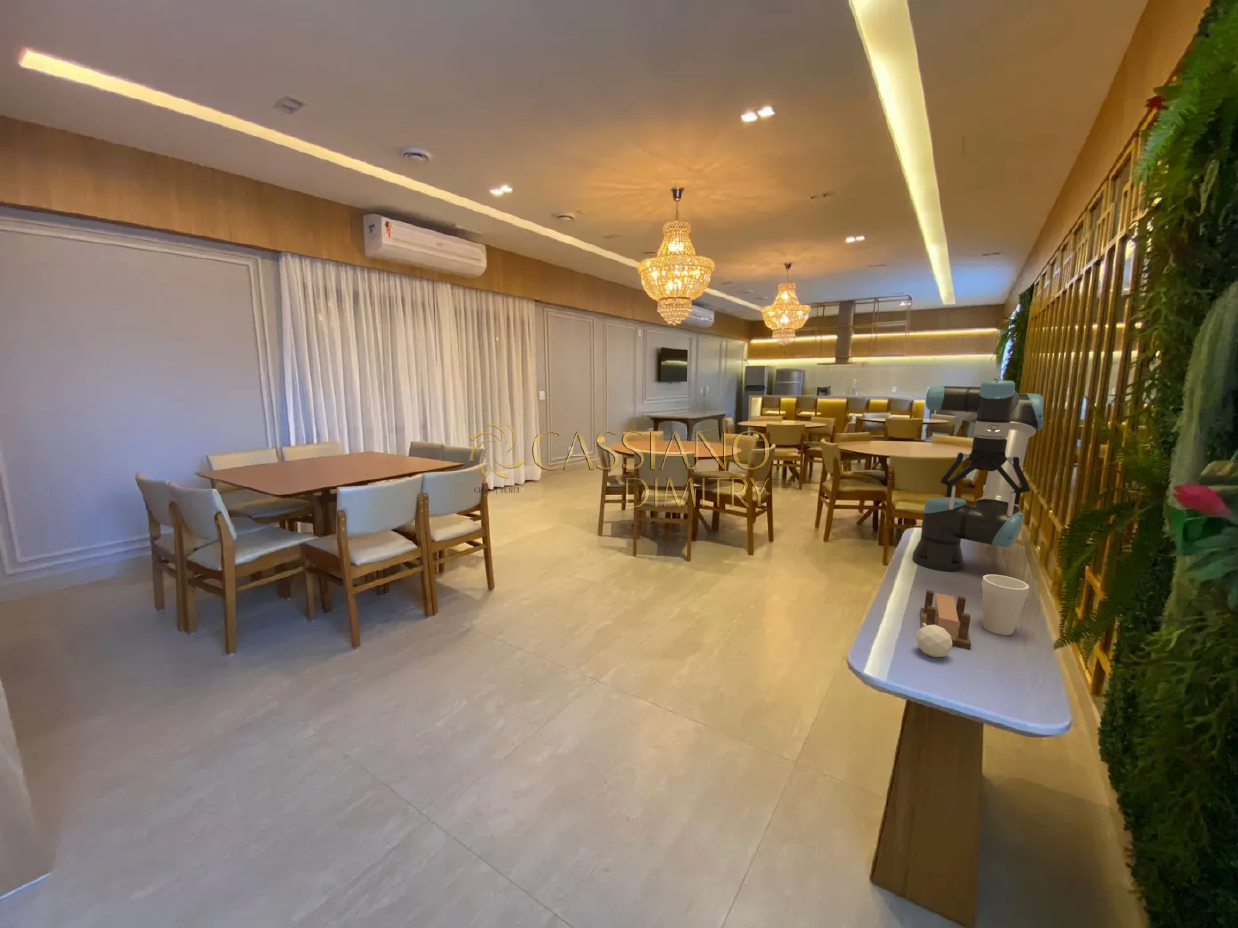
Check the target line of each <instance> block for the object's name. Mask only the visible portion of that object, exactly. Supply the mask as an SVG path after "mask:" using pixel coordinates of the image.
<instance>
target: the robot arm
mask: <svg viewBox="0 0 1238 928" xmlns="http://www.w3.org/2000/svg"><path fill="white" fill-rule="evenodd" d="M925 407H926V409H927V410H929V411H935V412H948V413H951V414H953V415H954V416H955V417H956V418H958V419H960V420H962V421H965V422H969V423H972V424H974V425H975V426H974V430H973V431H974V432H973V435H974V437H973V438H972V445H971V452H970V453H963V452H962V451H959V452H957V455H956V459H955V460H954V461H953V463H952V464H951V465H950V466H949V468H948V469H947V470H946V472H945V473H944V474H943V475H942V477H941V478H940V483H941V484H943V485H946V493H945V495H946V496H945V497H933V498H930V499H928V500H927V501H925V505H924V509H923V511H922V513H923V516H922V525H921V533H920V539H919V541H918V542H917V545H916V546H915V548H914V551H913V552H912V561H913V562H914V563H916V564H918V565H919V566H922V567H925V568H928V569H932V570H937V571H943V572H944V571H945V572H957V571H961V570H963V569H964V565H965V560H964V557H963V552H962V547H961V540H966V541H970V542H975V543H980V544H981V543H982V544H986V545H991V546H992V547H1004V548H1010V547H1012V546H1013V545H1014V544H1015V543H1016V541H1017V539H1018V537H1019V535H1020V532H1021V530H1022V526H1023V523H1024V519H1025V515H1024V514H1023V513H1022V512H1020V506H1019V504H1020V501H1021V500H1020V499H1021V494H1023V493H1029V492H1030V491H1031V488H1030V486H1029V483H1028V481H1027V479H1026V476H1025V475H1024V472H1023V466H1024V461H1025V457H1026V452H1027V448H1028V443H1029V439H1030V437H1033V436H1035V435H1036V433H1037V430H1041V429H1043V428H1044V397H1043V395H1042V394H1039V393H1028V392H1025V393H1021V392H1020V393H1019V392H1017V391H1016V383H1015V381H1013V380H996V379H995V380H992V379H991V380H988V379H987V380H983V381H982V382H981V384H980V386H957V385H956V386H955V385H954V386H952V385H951V386H950V385H932V386H930V387H929V388H928V390H927V392H926V396H925ZM967 459H968V460H969V461H970V462H971V463H970V464H968V465H967V466H966V467H965V468H963V470H961V471H960V472H959V473H957V474H956V475H955V476H953V474H954V473H955V472H956V470H957V468H959V466H960V465H961V464H962V462H964V461H966V460H967ZM975 470H978V471H983V472H984V471H987V476H986V481H985V486H984V490H983V494H982V497H979V498H977V499H976V500H975V504H974V505H970V504H968V502H967V500H966V499H964V498H960V497H955V496H956V485H955V484H957V483H958V482H959V481H961V480H962V479H963V478H965V477H966V476H967V475H969V474H970V473H971V472H973V471H975ZM951 476H953V477H952V478H951ZM950 478H951V479H950ZM949 479H950V480H949ZM1019 484H1020V486H1019Z"/></svg>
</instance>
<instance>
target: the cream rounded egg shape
mask: <svg viewBox="0 0 1238 928" xmlns="http://www.w3.org/2000/svg"><path fill="white" fill-rule="evenodd" d="M923 626H924V627H922V628H921V627H920V628H919V629H918V631H917V634H916V637H915V639H916V643H917V647H919V649H920V650H921V652H923V654H924V655H928V656H930V657H932V658H940V657H941V658H943V657H945V656H947V655H948V654H950V653H951V651H952V647H953V646H952V639H951V636H950V634H949V633H948V632H947V631H946V630H945V629H944V628H942V627H939V626H937V625H926V623H923Z"/></svg>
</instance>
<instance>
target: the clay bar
mask: <svg viewBox="0 0 1238 928" xmlns="http://www.w3.org/2000/svg"><path fill="white" fill-rule="evenodd" d="M934 597H935V598H934V604H933V607H935V608H936V612H935V625H937V626H939V627H942V628H944V629H945V630H946V631H947V632H948V633H949V634H950V636H951V639H952V640H954V641H956V638H957V631H958V624H959V620H958V616H957V611H956V606H957V605H956V602H955V601H956V600H955V598H954V596H953V595H947V594H941V593H937V592H935V596H934Z"/></svg>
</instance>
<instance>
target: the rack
mask: <svg viewBox="0 0 1238 928" xmlns="http://www.w3.org/2000/svg"><path fill="white" fill-rule="evenodd" d="M925 591H926V592H925V598H924V607H920V612H919V613H920V614H919V615H920V629H921V628H922V627H924V626H923V623H926V625H935V612H936V608H935V607H934V606H933V602H934V593H935V591H934V590H928V589H926V590H925ZM966 600H967V598H966V596H962V595H961V596H960V595H958V596H957V599H956V605H955V606H956V611H957V616H958V620H959V624H958V631H957V638H956V641H954V640H952V647H957V648H961V649H965V650H969V651H970V650H971V647H972V642H971V638H970V634H969V629H970V624H971V614H970V613H965V609H966Z"/></svg>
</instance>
